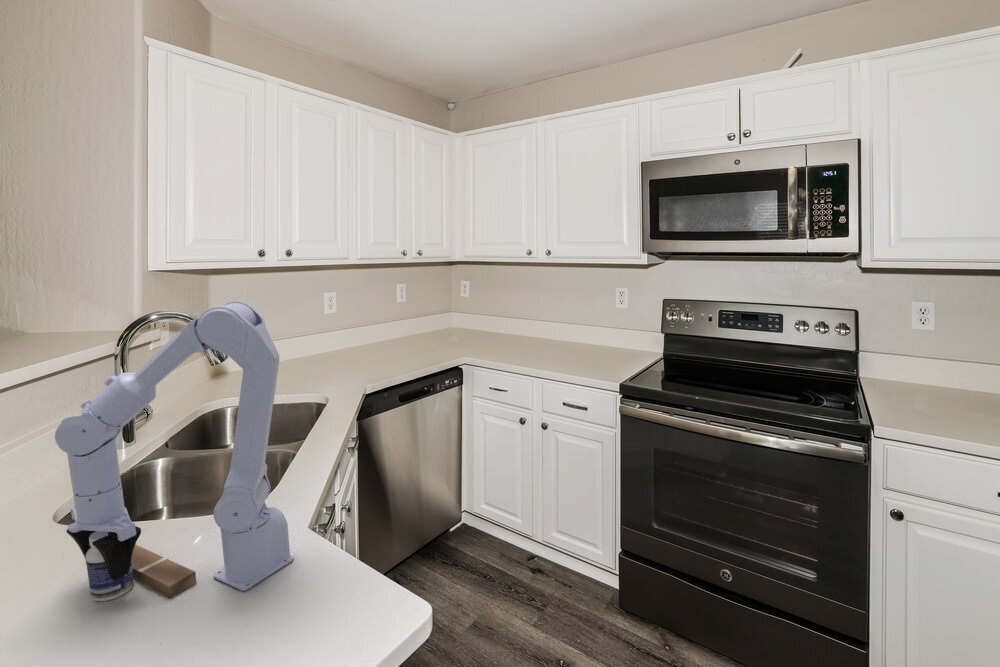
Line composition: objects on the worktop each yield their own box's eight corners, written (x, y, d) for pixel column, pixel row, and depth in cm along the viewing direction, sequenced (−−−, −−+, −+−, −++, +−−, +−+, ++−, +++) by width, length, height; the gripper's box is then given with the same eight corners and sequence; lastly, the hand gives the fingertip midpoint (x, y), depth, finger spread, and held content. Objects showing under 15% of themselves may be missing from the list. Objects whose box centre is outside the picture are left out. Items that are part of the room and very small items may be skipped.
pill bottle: (133, 594, 78) (125, 535, 76) (89, 607, 75) (80, 546, 74) (135, 576, 82) (128, 520, 81) (93, 588, 79) (85, 530, 78)
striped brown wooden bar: (116, 545, 91) (115, 534, 91) (196, 583, 80) (195, 570, 80) (90, 557, 88) (88, 545, 88) (170, 598, 77) (168, 585, 76)
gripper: (41, 489, 76) (54, 571, 78) (91, 509, 69) (104, 600, 71) (96, 471, 82) (107, 548, 84) (146, 489, 76) (156, 572, 78)
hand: (109, 570), depth 78 cm, fingers open, 6 cm apart
